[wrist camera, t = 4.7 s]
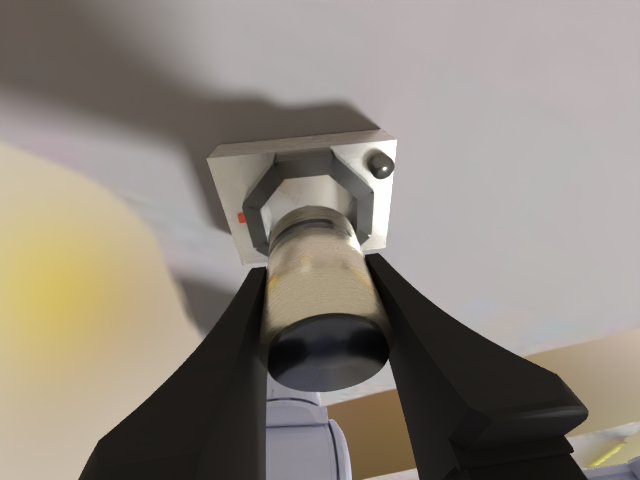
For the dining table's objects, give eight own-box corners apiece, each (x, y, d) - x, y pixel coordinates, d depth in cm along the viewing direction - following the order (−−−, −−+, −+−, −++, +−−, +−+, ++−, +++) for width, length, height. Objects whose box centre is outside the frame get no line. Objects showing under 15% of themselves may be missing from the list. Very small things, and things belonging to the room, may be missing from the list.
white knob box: (374, 227, 22) (391, 260, 18) (247, 241, 21) (238, 278, 17) (381, 128, 17) (406, 146, 13) (218, 144, 16) (198, 167, 13)
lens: (357, 265, 14) (397, 382, 9) (282, 280, 14) (279, 404, 9) (350, 197, 12) (400, 303, 6) (258, 215, 12) (234, 336, 6)
